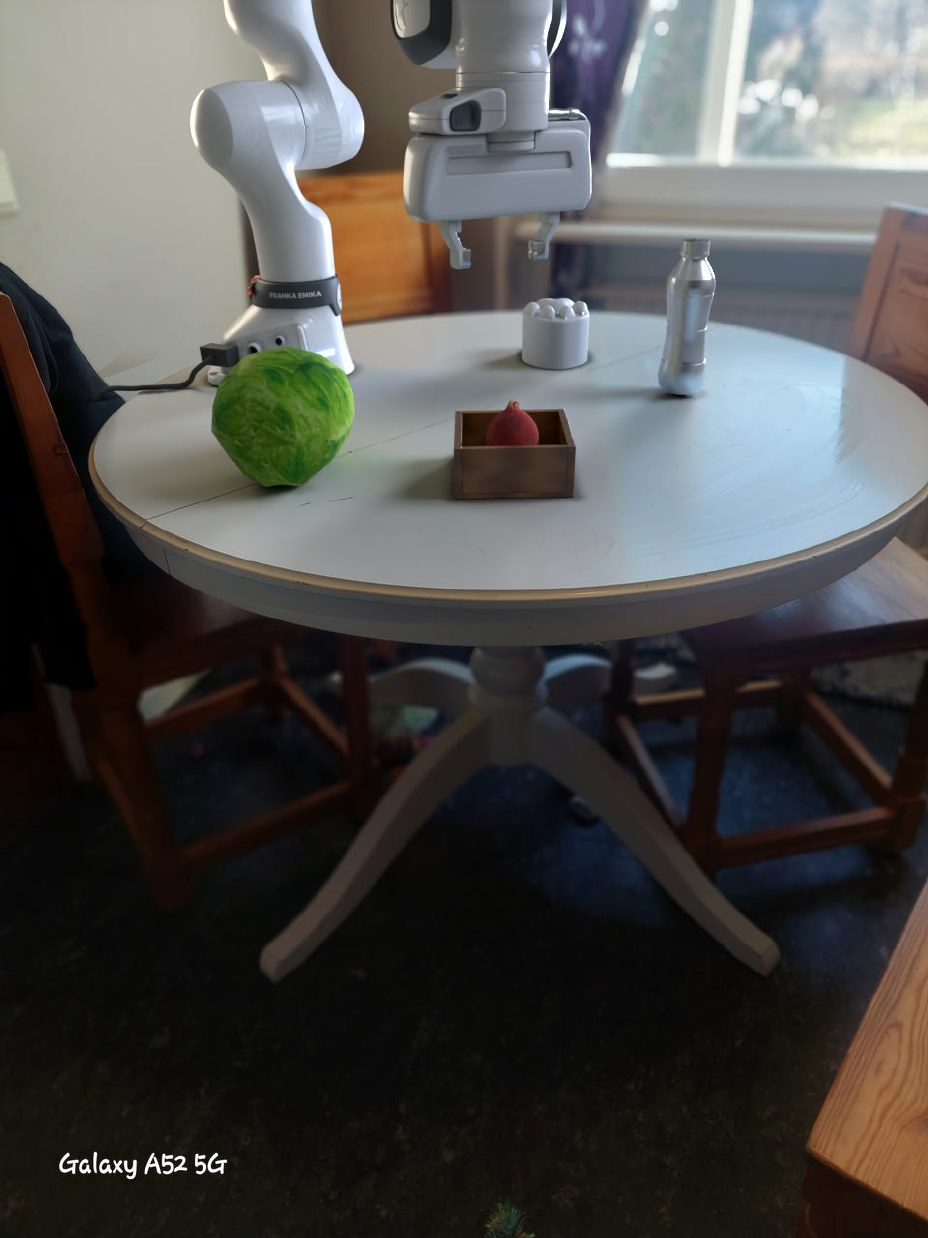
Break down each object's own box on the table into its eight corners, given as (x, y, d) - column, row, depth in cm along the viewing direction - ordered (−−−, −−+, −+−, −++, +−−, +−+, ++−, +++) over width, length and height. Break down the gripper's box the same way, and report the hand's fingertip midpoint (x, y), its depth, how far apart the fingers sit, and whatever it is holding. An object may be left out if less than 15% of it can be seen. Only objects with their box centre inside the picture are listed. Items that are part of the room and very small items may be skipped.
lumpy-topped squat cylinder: (582, 347, 146) (585, 293, 141) (591, 368, 135) (594, 310, 130) (520, 348, 146) (521, 294, 142) (524, 369, 135) (525, 311, 131)
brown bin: (455, 499, 93) (453, 449, 90) (456, 457, 103) (455, 410, 100) (573, 497, 92) (576, 446, 89) (562, 455, 103) (564, 408, 100)
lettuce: (256, 452, 113) (370, 471, 112) (181, 480, 92) (321, 504, 90) (263, 334, 108) (383, 353, 107) (186, 335, 87) (334, 359, 86)
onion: (534, 482, 95) (535, 409, 90) (482, 479, 96) (481, 407, 91) (541, 462, 99) (542, 393, 95) (491, 460, 100) (490, 391, 96)
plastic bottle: (677, 402, 119) (693, 245, 109) (646, 390, 124) (659, 239, 114) (713, 395, 122) (733, 240, 111) (682, 383, 127) (698, 235, 117)
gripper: (572, 105, 90) (564, 249, 97) (392, 110, 81) (399, 267, 89) (609, 107, 85) (599, 258, 92) (423, 112, 77) (428, 278, 84)
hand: (500, 263), depth 90 cm, fingers open, 8 cm apart
